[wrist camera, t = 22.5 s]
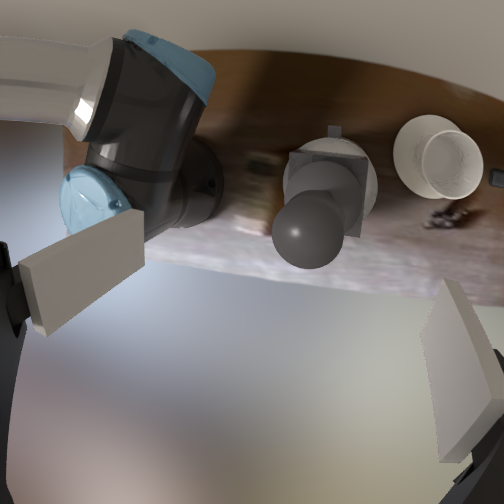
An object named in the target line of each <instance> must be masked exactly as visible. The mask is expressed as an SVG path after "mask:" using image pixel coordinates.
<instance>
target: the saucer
mask: <svg viewBox="0 0 504 504" xmlns="http://www.w3.org/2000/svg"><path fill="white" fill-rule="evenodd" d="M444 130H457V131H460V132H461V130H460V129H459V128H458V127H457V126H456V125H455V124H453V123H452V122H451V121H449V120H447V119H445V118H443V117H440V116H436V115H423V116H419V117H416V118H414V119H412V120H410V121H408V122H407V123H406V124H405V125H404V126H403V127H402V128H401V129H400V131H399V132H398V134H397V136H396V138H395V142H394V146H393V161H394V166H395V169H396V171H397V173H398V175H399V177H400V179H401V180H402V181H403V183H404V184H405V185H406V186H407V187H408V188H409V189H410V190H412V191H413V192H414V193H416V194H418V195H420V196H423V197H426V198H431V199H439V198H444V197H442V196H440V195H438V194H437V193H436V192H434V191H433V190H432V189H431V187H430V186H429V185H428V184H427V183H426V182H425V181H424V180H423V179H422V178H421V176H420V175H419V174H418V172H417V171H416V169H415V168H414V164H413V161H412V150H413V147H414V145H415V143H416V142H417V140H418V139H419V138H421V137H423V136H424V135H426V134H429V133H432V132H437V131H444Z"/></svg>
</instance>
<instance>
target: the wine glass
mask: <svg viewBox="0 0 504 504" xmlns="http://www.w3.org/2000/svg"><path fill="white" fill-rule="evenodd" d="M284 202H285V206H284V207H283V208H282V209H281V210H280V211H279V213H278V214H277V216H276V217H275V219H274V222H273V226H272V240H273V243H274V246H275V248H276V250H277V252H278V253H279V254H280V256H281V257H282V258H283V259H284V260H286V261H287V262H288V263H290V264H292V265H294V266H296V267H299V268H303V269H316V268H320V267H323V266H325V265H327V264H329V263H330V262H331V261H332V260H334V259H335V257H336V256H337V255H338V253H339V252H340V250H341V247H342V244H343V238H344V233H346V232H347V231H349V230H350V229H351V228H352V227H353V226H354V225H355V223H356V222H357V220H358V218H359V216H360V213H361V209H362V193H361V188H360V185H359V183H358V181H357V179H356V177H355V176H354V175H353V174H352V172H351V171H350V170H348V169H347V168H346V167H344V166H343V165H341V164H339V163H336V162H333V161H328V160H320V161H314V162H311V163H309V164H307V165H305V166H303V167H302V168H300V169H299V170H298V171H297V172H296V173H295V174H294V175H293V176H292V177H291V179H290V180H289V182H288V184H287V187H286V190H285V196H284Z"/></svg>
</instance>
